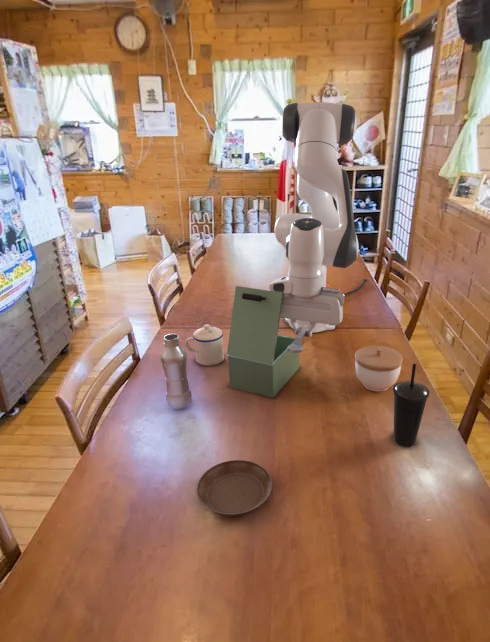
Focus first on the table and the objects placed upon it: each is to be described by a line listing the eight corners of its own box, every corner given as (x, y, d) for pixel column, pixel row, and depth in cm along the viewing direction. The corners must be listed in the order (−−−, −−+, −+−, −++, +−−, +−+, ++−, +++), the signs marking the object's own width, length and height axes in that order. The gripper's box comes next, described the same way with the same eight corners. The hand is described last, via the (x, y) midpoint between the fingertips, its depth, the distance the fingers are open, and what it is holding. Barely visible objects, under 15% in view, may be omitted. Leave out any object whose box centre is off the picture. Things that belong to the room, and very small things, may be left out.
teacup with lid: (227, 353, 145) (225, 319, 140) (221, 367, 137) (218, 332, 132) (191, 351, 146) (187, 318, 141) (182, 365, 138) (178, 330, 133)
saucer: (204, 468, 97) (203, 458, 96) (273, 469, 97) (273, 459, 96) (191, 524, 84) (189, 513, 83) (270, 525, 83) (270, 514, 82)
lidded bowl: (344, 385, 126) (346, 350, 122) (369, 368, 135) (371, 335, 130) (384, 402, 118) (388, 365, 114) (407, 383, 127) (412, 348, 122)
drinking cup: (422, 433, 107) (433, 358, 98) (420, 454, 100) (432, 376, 92) (389, 427, 109) (397, 353, 100) (385, 446, 103) (394, 370, 94)
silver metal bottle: (197, 401, 120) (190, 333, 112) (182, 415, 115) (173, 344, 106) (177, 396, 123) (168, 329, 114) (162, 409, 117) (151, 340, 109)
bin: (258, 359, 141) (257, 330, 137) (299, 368, 136) (299, 338, 131) (229, 386, 127) (227, 355, 122) (273, 397, 121) (272, 366, 117)
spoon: (301, 334, 126) (301, 324, 125) (315, 336, 124) (315, 326, 123) (285, 351, 115) (285, 341, 114) (300, 354, 114) (300, 344, 113)
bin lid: (237, 285, 121) (228, 285, 116) (283, 292, 115) (276, 292, 111) (228, 354, 123) (219, 355, 118) (273, 364, 117) (265, 366, 113)
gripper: (348, 286, 114) (344, 336, 120) (272, 277, 121) (272, 325, 127) (342, 293, 109) (338, 345, 114) (263, 283, 116) (263, 333, 121)
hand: (303, 335), depth 121 cm, fingers closed on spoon
